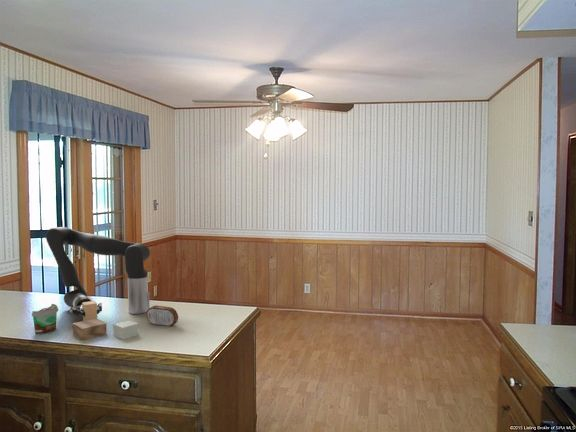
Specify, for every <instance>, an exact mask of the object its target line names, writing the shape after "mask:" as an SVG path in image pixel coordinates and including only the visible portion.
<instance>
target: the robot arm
mask: <svg viewBox="0 0 576 432" xmlns="http://www.w3.org/2000/svg"><path fill="white" fill-rule="evenodd" d="M45 239H46V243H47V245H48V246H49V249H50V251H51V253H52V255H53V257H54V260H55V261H56V263H57V266H58V268H59V272H60V275H61V279H62V283H63V285H64V287H66V288H69V287H75V288H76V289H74V290H70V291H68V292H65V294H64V296H63V302H64V304H65V305H66V306H67V307H69V310H70V311H69V312H70V314H72V315H74V316H78V315H80V316H82V317H83V316H85V311H84V310H83V309H82V303H83V302H89V301H92V300H91V299H90V298H89V297H88V293H87V291H86V290H85V289H84V287H83V285H82V284H81V281H80V279H79V276H78V273H77V272H78V271H77V269H76V267H75V265H74V263H73V262H72V261H71V259H70V258H69V256H68V254H67V253H66V250H65V246H77V247H79V248H82V249H83V250H85V251H86V252H88V253H92V254H96V255H99V256H121V257H124V265H125V272H126V274H127V299H128V300H127V303H128V306H127V307H128V308H127V309H128V313H129V314H132V315H139V314H144V313H147V311H148V309H149V308H151V307H150V305H151V304H150V291H148V290H149V288H148V283H149V282H148V271H147V270H146V269H145V267H144V262H145V261H147V259H148V258H149V257H150V255H151V250H150V248H149V247H148V246H147V245H146V244H145V243H139V242H131V241H130V242H129V241H123V240H119V239H116V238H113V237H108V236H105V235H99V234H94V233H89V232H88V233H87V232H83V231H82V232H81V231H78V230H74V229H72V228H69V227H67V226H59V227H58V226H57V227H52V228H50V229H48V230H47V232H46V235H45ZM102 304H103V303H102V302H99V303H97V315H99V314H100V313H101V312H102V311H103V305H102Z"/></svg>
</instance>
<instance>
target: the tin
mask: <svg viewBox="0 0 576 432" xmlns="http://www.w3.org/2000/svg"><path fill="white" fill-rule="evenodd" d="M146 318H147V320H148V322H149V323H150V324H152V325H155V326H159V327H160V326H161V327H162V326H163V327H173V326H174V325H176V324H177V323H178V320H179V314H178V312H177V310H176V309H175V308H173V307H171V306H162V305H152V306H151V307H150V308H149V309H148V311H147V312H146Z"/></svg>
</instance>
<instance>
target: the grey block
mask: <svg viewBox="0 0 576 432" xmlns="http://www.w3.org/2000/svg"><path fill="white" fill-rule="evenodd" d="M138 335H139V323H138V322H135V321H132V320H129V319H128V320H125V321H124V320H123V321H120V322H117V323H114V324H113V336H114V337H116V338H119V339H121V340H126V339H129V338H133V337H135V336H138Z"/></svg>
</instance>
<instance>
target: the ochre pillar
mask: <svg viewBox="0 0 576 432" xmlns="http://www.w3.org/2000/svg"><path fill="white" fill-rule="evenodd" d="M97 305H98V303H97V302H96V301H95V300H91V301H89V302H83V303H82V309H83V310H84V311H85V316H82V321H86V320H90V319H95V318H97V319H98V314H97Z"/></svg>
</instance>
